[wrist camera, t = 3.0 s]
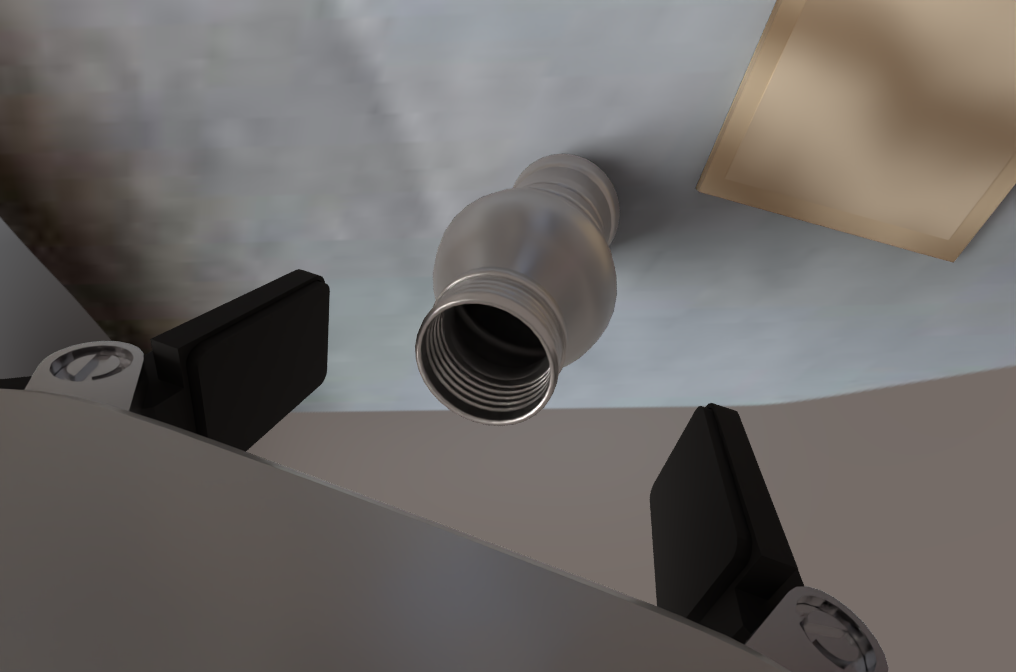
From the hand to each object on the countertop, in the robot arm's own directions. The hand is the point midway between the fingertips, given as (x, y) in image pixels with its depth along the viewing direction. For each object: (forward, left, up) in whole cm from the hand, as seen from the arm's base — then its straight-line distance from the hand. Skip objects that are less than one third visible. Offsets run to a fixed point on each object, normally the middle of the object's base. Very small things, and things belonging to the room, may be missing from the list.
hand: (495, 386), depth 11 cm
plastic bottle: (0, 0, -20) cm, 20 cm away
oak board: (-10, +14, -20) cm, 26 cm away
